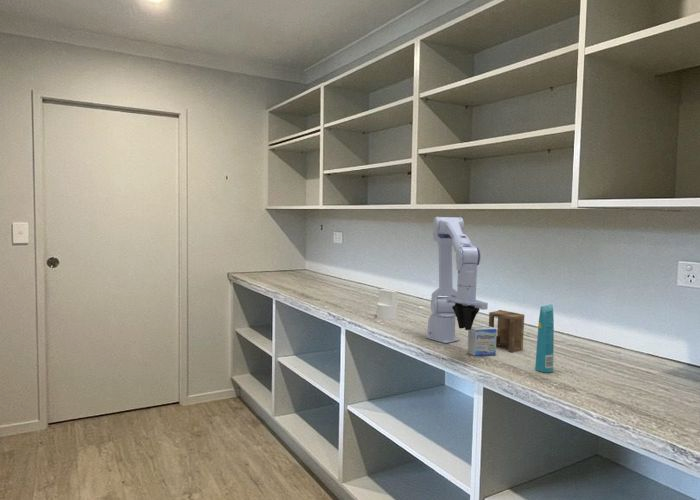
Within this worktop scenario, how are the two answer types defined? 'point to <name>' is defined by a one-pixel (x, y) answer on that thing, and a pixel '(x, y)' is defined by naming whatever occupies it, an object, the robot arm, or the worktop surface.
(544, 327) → the tube
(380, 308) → the base with upright slab
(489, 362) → the worktop surface
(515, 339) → the walnut bay
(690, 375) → the worktop surface
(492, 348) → the medicine box
